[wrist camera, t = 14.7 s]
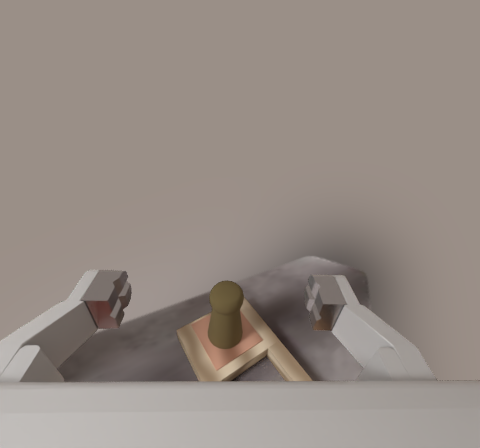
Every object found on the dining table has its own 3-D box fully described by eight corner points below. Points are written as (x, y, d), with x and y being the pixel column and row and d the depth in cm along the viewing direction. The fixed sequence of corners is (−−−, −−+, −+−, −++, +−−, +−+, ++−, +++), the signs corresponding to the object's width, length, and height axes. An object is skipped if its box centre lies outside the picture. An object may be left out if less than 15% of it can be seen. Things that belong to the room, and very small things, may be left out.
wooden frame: (250, 486, 29) (252, 481, 28) (177, 337, 44) (176, 329, 42) (326, 409, 36) (331, 402, 35) (242, 303, 51) (242, 294, 49)
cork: (200, 335, 42) (197, 293, 35) (222, 310, 46) (223, 268, 39) (228, 356, 39) (231, 315, 33) (249, 328, 43) (255, 286, 37)
